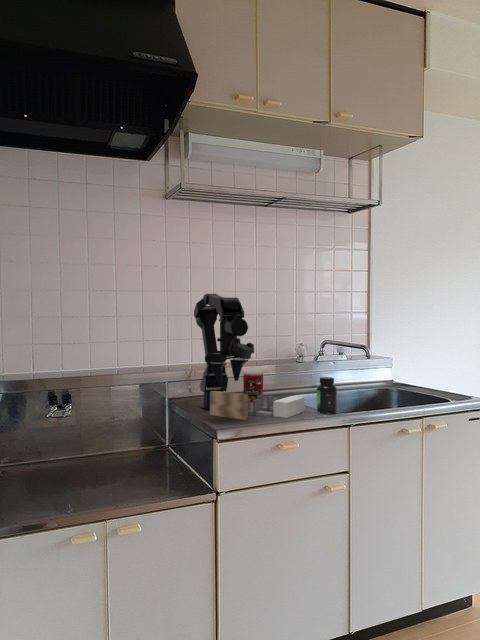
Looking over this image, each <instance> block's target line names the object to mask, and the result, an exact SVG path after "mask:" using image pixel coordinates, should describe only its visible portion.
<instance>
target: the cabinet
mask: <svg viewBox="0 0 480 640" xmlns="http://www.w3.org/2000/svg"><path fill="white" fill-rule="evenodd" d="M264 397H265V395H264V394H263V395H258V396H257V400H253V402H252V403H253V404H252V406H253V407H252V409H251V402H250V398H248V416H255V417H256V416H257V417H262V418H263V417H264V418H271V417H275V418H276V417H277V418H285V419H287V418H290V417H293V416H297V415H299V414H302V413H304V411H305V403H306V402H305V400H306V399H305V396H296V395H291V396H287V397H283V398H280V399H277V400H274V395H268V396H266V405H264V404H265V403H264V400H265V398H264ZM301 412H302V413H301Z"/></svg>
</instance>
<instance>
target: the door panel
mask: <svg viewBox="0 0 480 640" xmlns="http://www.w3.org/2000/svg"><path fill="white" fill-rule="evenodd" d="M209 416H213V417H214V416H216V417H221V418H228V419H236V420H243V421H245V420H248V417H249V415H248V395H247V394H244V393H238V392H237V393H236V392H230V391H229V392H228V391H223V392H220V391H210V409H209Z"/></svg>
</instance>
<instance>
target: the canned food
mask: <svg viewBox="0 0 480 640" xmlns="http://www.w3.org/2000/svg"><path fill="white" fill-rule="evenodd" d="M242 377H243V378H242V380H243V382H242V383H243V386H242V387H243V388H242V389H243V394H247V395H248V398H250V403H253V400H257V396H258V395H264V372H262V371H253V370H252V371H244V372H243V375H242Z"/></svg>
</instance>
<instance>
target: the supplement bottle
mask: <svg viewBox="0 0 480 640" xmlns="http://www.w3.org/2000/svg"><path fill="white" fill-rule="evenodd" d="M334 384H335V378H334V377H331V376H330V377H329V376H321V377H319V385H318V386H317V387H316V412H317V413H318V412H320V413H319V414H321V413H335V414H336V413H337V412H338V409H337V408H338V389H337V386H336V385H334Z"/></svg>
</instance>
